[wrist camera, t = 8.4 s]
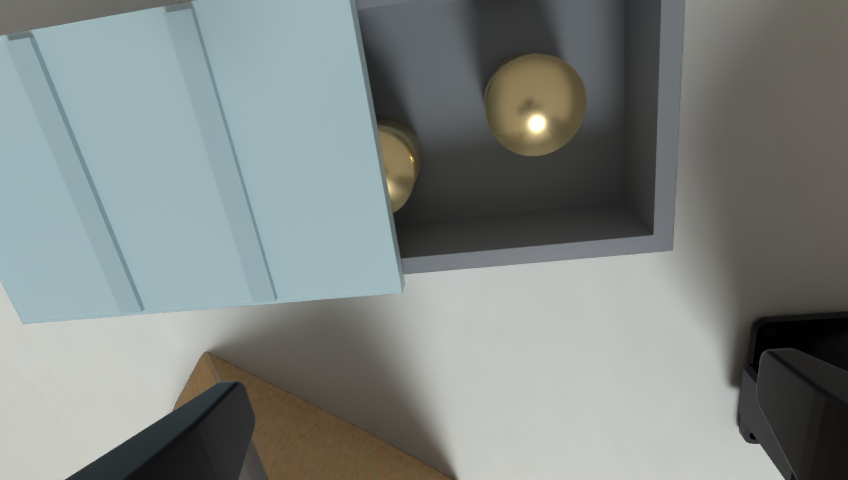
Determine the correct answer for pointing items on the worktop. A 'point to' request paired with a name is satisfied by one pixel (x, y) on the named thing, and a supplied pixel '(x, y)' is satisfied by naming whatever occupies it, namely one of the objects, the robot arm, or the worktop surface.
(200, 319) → the worktop surface
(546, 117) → the brass slug
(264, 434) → the sandwich container
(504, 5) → the tub
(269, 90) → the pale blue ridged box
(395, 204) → the brass slug
